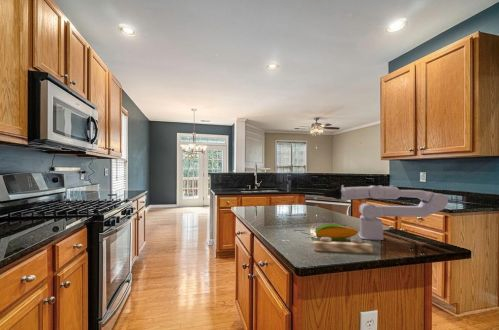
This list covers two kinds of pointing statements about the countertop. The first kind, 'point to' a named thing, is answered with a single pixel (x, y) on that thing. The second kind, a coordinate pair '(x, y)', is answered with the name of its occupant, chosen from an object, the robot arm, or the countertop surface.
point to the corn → (335, 232)
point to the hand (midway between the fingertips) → (324, 194)
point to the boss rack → (343, 246)
